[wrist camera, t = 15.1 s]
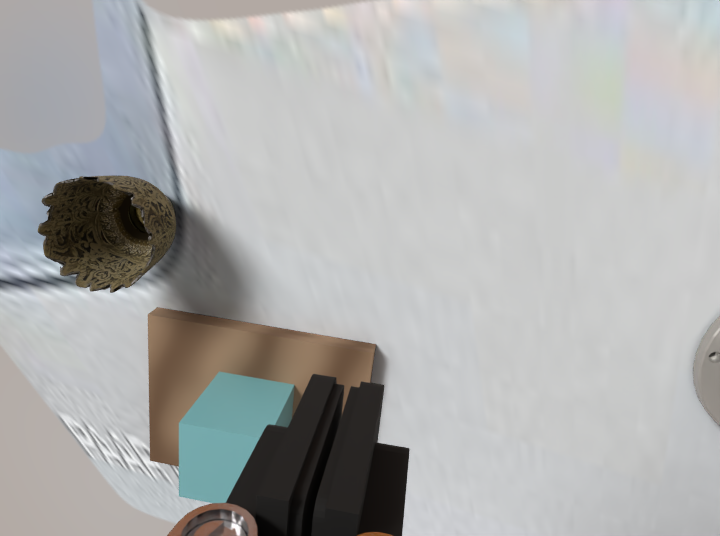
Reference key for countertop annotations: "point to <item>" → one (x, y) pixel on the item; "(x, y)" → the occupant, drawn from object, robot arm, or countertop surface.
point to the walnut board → (234, 365)
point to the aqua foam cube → (227, 432)
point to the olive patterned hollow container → (107, 229)
